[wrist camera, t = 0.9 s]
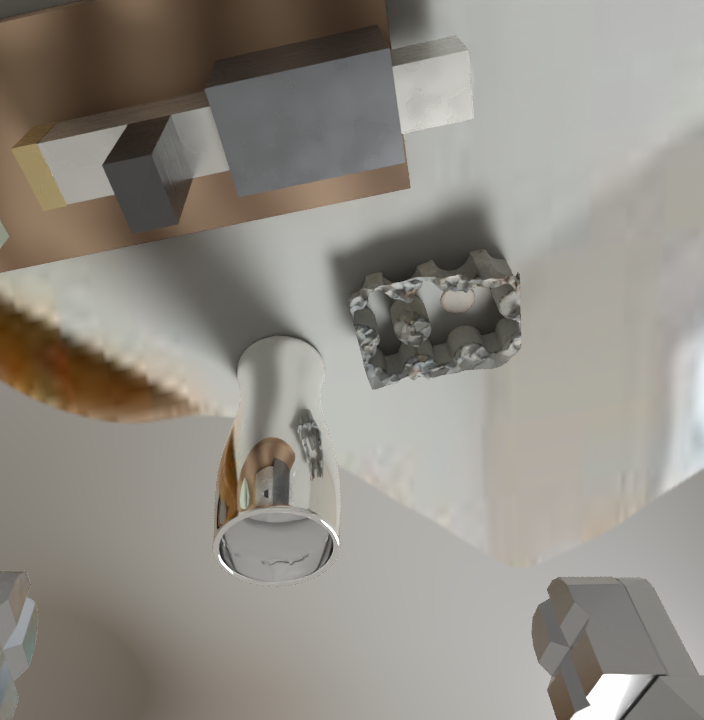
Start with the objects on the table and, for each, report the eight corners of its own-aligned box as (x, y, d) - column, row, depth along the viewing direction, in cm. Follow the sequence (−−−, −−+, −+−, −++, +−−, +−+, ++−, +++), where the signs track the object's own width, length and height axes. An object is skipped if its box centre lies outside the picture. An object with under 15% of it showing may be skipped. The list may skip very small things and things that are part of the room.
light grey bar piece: (455, 34, 31) (497, 79, 24) (460, 100, 33) (501, 158, 26) (32, 126, 32) (-33, 192, 25) (61, 185, 34) (7, 260, 27)
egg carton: (510, 238, 41) (530, 271, 37) (511, 334, 45) (528, 371, 42) (343, 268, 41) (348, 303, 38) (361, 360, 46) (366, 398, 42)
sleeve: (377, 24, 31) (389, 47, 27) (392, 127, 34) (405, 162, 30) (215, 60, 31) (204, 88, 27) (244, 159, 34) (238, 197, 31)
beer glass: (235, 323, 43) (212, 501, 31) (339, 335, 44) (356, 511, 32) (227, 402, 47) (204, 586, 35) (322, 411, 48) (331, 592, 36)
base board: (372, -67, 30) (376, -64, 29) (406, 177, 37) (410, 187, 36) (-210, 67, 32) (-230, 75, 30) (-68, 276, 39) (-79, 288, 38)
